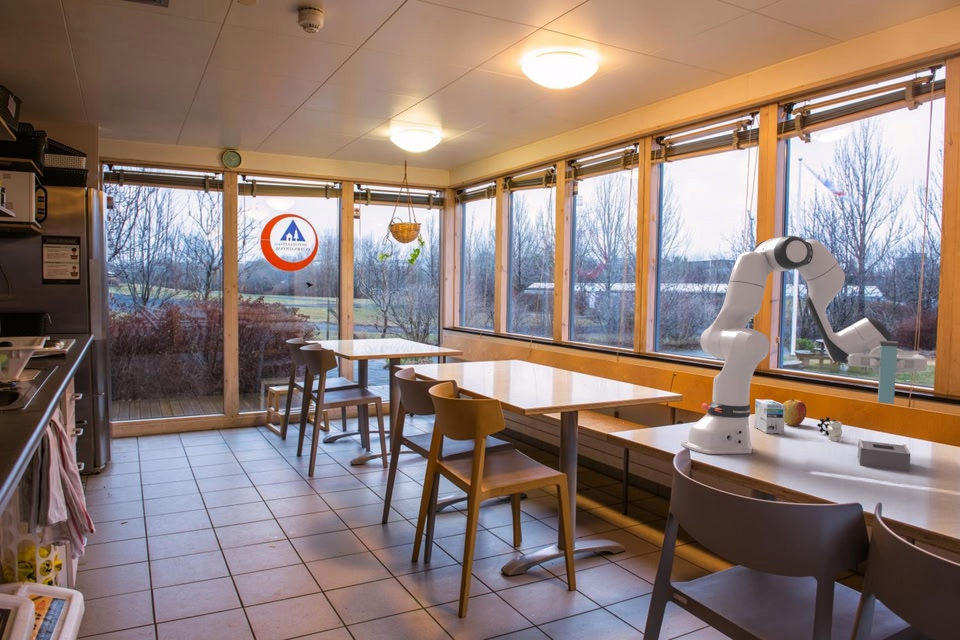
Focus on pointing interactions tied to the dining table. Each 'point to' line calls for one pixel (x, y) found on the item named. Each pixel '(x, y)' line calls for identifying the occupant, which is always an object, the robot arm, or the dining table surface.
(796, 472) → the dining table surface
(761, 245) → the robot arm
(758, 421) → the light bulb box
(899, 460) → the grey socket base
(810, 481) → the dining table surface
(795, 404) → the apple
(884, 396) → the plug
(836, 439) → the valve
